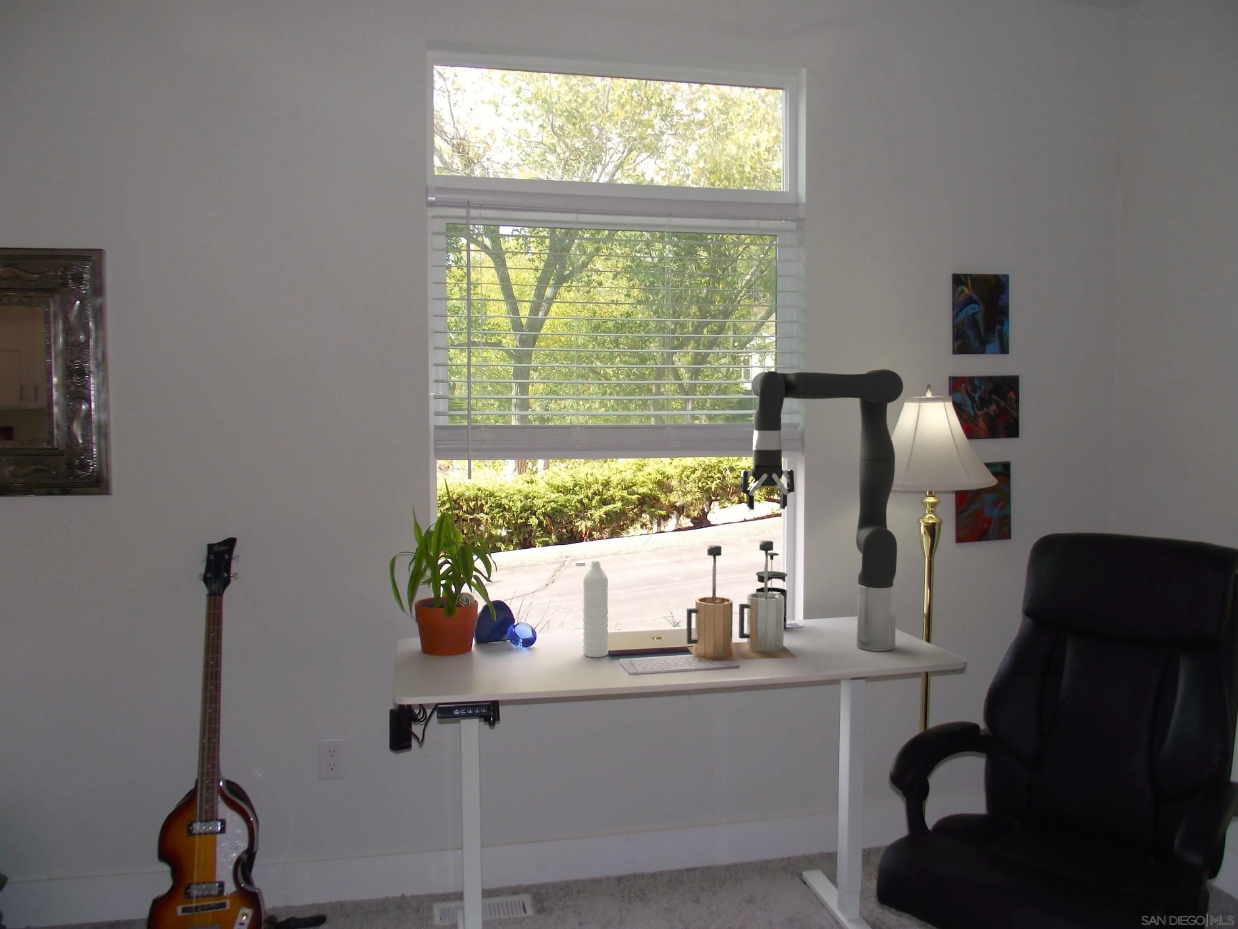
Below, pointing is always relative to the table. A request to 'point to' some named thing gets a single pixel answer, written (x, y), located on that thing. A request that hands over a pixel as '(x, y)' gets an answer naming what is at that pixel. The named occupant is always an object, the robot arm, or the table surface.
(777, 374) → the robot arm
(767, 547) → the steel plunger
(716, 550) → the black knob plunger
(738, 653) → the board
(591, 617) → the water bottle
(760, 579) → the french press
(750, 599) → the steel carafe
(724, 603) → the copper carafe
